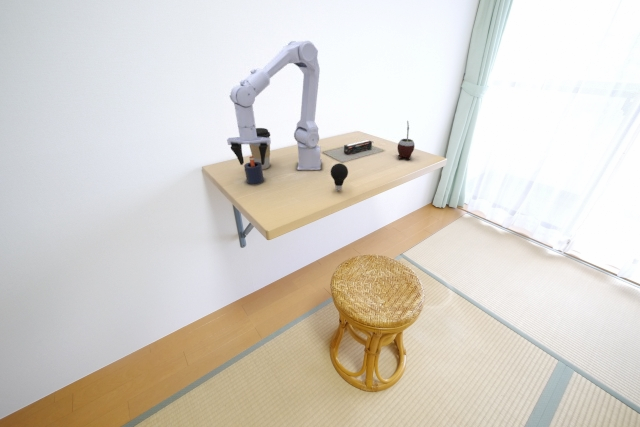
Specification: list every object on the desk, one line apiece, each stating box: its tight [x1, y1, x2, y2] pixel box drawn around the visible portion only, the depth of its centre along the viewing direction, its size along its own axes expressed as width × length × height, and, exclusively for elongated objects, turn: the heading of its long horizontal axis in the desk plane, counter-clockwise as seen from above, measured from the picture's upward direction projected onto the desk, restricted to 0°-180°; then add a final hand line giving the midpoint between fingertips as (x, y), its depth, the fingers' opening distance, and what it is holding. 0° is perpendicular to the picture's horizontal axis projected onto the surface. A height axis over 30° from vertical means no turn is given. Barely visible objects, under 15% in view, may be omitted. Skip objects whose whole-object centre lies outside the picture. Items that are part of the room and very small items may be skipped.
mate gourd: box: [396, 120, 415, 161], centre depth 113 cm, size 8×8×15 cm
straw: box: [249, 155, 255, 167], centre depth 95 cm, size 2×2×9 cm
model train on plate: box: [323, 139, 383, 163], centre depth 123 cm, size 14×25×4 cm, turn 124°
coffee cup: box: [248, 127, 271, 170], centre depth 105 cm, size 9×9×15 cm
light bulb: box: [330, 162, 349, 192], centre depth 88 cm, size 6×6×10 cm
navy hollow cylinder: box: [243, 161, 265, 186], centre depth 96 cm, size 6×6×6 cm
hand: (252, 163), depth 94 cm, fingers open, 7 cm apart
